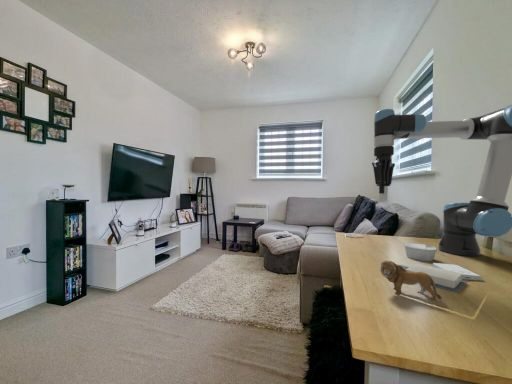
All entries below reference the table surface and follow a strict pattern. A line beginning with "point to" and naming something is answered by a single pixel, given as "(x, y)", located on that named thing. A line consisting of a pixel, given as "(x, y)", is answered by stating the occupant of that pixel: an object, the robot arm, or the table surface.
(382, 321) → the table surface
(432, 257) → the ramekin
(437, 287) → the mat
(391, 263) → the lion figurine
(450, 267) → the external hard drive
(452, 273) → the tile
